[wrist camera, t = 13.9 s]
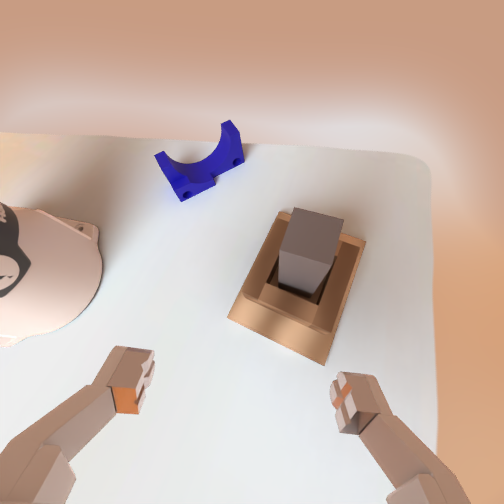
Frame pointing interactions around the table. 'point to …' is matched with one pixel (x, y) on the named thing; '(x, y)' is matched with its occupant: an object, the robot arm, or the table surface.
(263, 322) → the socket board
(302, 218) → the peg
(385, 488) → the table surface
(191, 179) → the blue cradle bracket
